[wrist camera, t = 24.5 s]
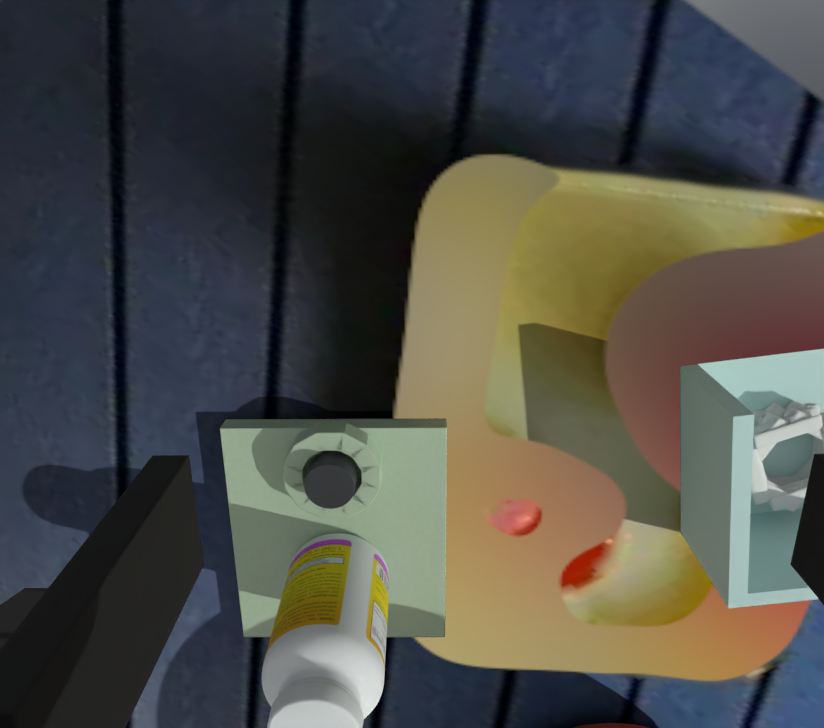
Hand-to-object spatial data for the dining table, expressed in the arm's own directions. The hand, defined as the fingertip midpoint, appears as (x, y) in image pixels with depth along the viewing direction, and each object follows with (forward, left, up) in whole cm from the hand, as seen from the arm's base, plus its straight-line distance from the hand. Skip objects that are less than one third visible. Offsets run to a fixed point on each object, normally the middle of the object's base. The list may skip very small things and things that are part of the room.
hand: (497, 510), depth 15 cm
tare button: (+7, +13, -24) cm, 28 cm away
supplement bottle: (+7, +20, -26) cm, 33 cm away
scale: (+7, +18, -27) cm, 33 cm away
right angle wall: (-21, +12, -27) cm, 36 cm away
